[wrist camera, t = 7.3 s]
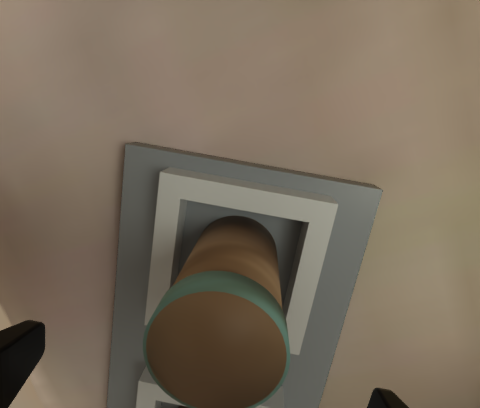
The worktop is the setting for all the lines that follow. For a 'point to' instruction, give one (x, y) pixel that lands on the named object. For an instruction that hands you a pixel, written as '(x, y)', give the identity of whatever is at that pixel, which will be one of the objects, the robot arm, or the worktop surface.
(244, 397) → the sleeve
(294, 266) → the socket board
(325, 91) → the worktop surface
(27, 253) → the worktop surface
